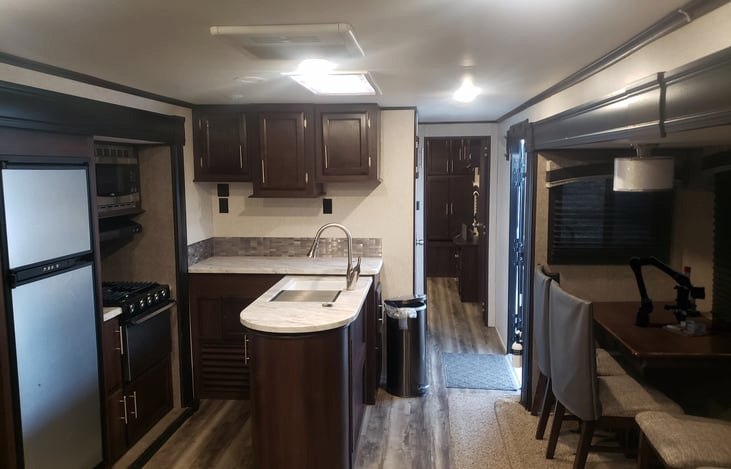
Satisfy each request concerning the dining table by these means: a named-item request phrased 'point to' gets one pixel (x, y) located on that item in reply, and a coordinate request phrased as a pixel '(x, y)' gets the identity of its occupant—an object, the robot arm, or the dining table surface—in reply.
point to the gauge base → (688, 329)
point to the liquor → (686, 272)
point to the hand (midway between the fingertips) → (681, 325)
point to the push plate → (685, 324)
